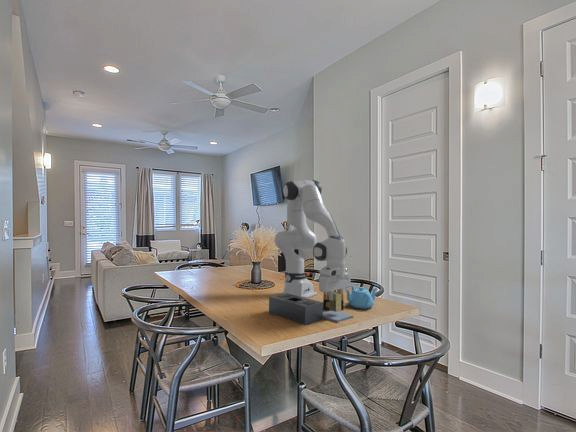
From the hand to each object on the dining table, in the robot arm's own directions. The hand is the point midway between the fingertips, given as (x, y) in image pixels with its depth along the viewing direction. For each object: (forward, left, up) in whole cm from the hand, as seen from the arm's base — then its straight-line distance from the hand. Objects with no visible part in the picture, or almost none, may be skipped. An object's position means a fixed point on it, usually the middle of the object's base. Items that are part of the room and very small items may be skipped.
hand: (335, 299), depth 153 cm
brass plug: (0, 0, -5) cm, 5 cm away
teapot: (-27, -4, -9) cm, 29 cm away
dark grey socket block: (+14, -13, -8) cm, 21 cm away
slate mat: (0, 0, -8) cm, 8 cm away
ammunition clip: (-10, -9, -9) cm, 16 cm away
